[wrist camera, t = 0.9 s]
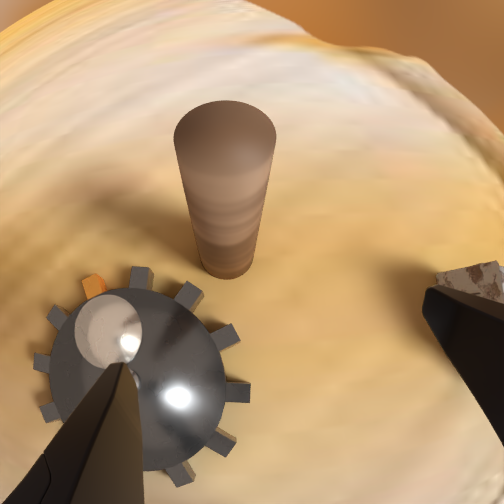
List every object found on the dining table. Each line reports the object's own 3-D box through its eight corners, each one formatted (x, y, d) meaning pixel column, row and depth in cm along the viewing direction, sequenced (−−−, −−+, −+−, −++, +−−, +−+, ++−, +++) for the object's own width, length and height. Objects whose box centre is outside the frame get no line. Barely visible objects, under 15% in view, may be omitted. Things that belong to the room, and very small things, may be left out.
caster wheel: (497, 359, 24) (444, 399, 21) (486, 257, 26) (431, 274, 23) (546, 360, 18) (503, 410, 15) (536, 244, 19) (494, 261, 16)
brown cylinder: (252, 280, 23) (276, 177, 11) (197, 277, 23) (164, 172, 11) (254, 231, 24) (275, 103, 12) (202, 228, 24) (183, 99, 12)
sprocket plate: (244, 493, 17) (246, 504, 15) (43, 454, 16) (29, 459, 14) (253, 280, 23) (255, 271, 21) (58, 265, 22) (45, 256, 20)
